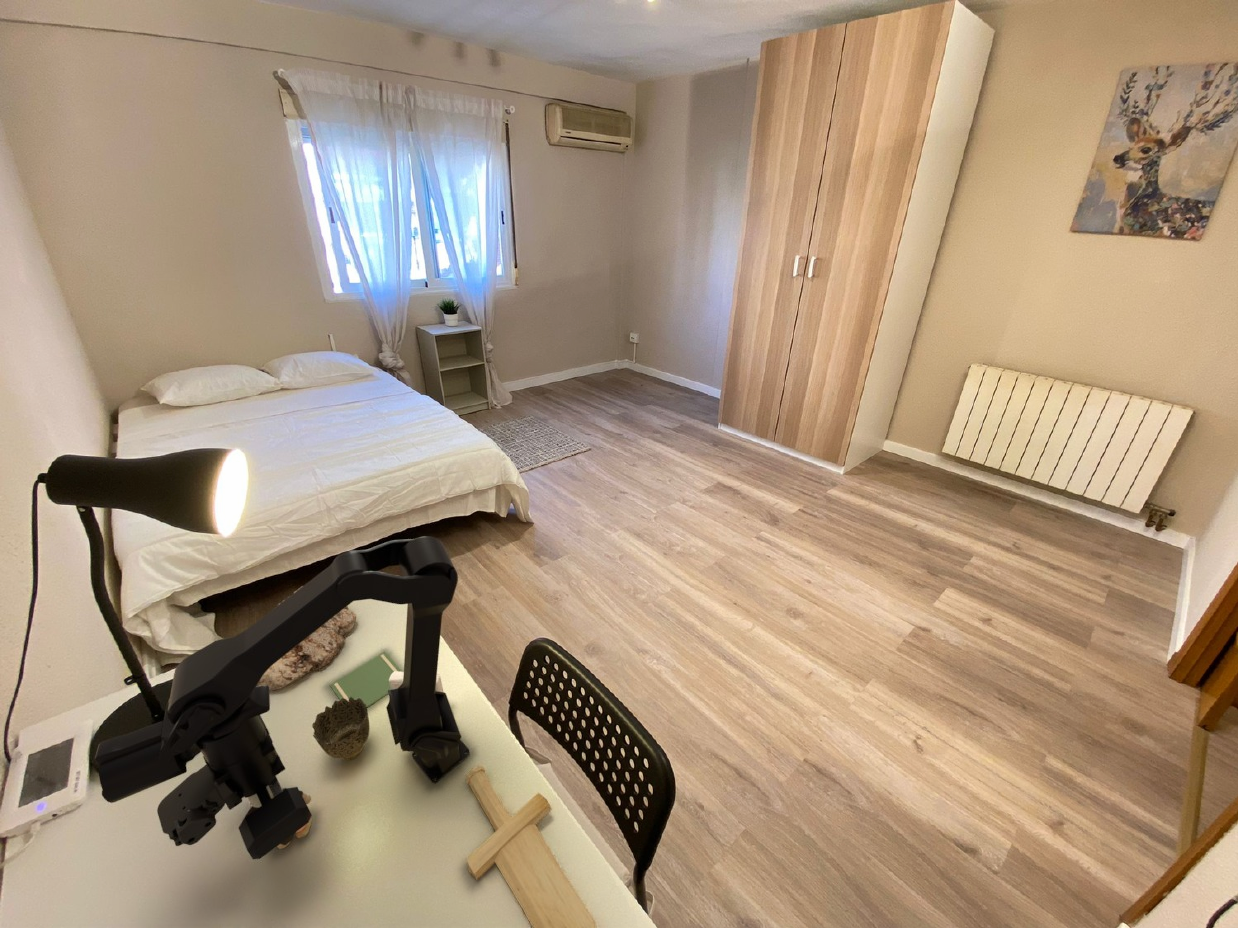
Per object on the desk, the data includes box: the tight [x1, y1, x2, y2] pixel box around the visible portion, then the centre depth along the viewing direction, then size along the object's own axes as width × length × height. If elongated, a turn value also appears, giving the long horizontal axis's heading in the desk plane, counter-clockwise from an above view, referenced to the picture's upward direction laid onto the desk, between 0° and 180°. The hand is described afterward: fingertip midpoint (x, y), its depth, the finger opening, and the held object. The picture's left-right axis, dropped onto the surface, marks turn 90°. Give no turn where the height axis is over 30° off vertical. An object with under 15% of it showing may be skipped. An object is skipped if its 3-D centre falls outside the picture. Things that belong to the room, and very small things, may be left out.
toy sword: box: [465, 764, 598, 928], centre depth 65 cm, size 12×3×30 cm
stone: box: [256, 585, 357, 691], centre depth 94 cm, size 22×8×15 cm
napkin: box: [329, 651, 403, 709], centre depth 90 cm, size 9×10×1 cm
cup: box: [312, 697, 370, 761], centre depth 77 cm, size 8×7×8 cm
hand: (276, 813), depth 67 cm, fingers open, 9 cm apart
